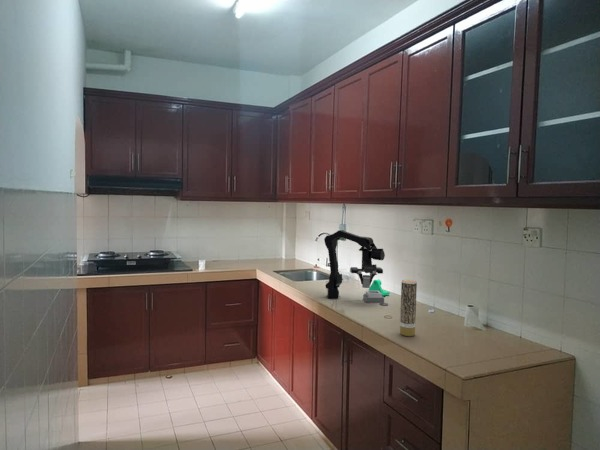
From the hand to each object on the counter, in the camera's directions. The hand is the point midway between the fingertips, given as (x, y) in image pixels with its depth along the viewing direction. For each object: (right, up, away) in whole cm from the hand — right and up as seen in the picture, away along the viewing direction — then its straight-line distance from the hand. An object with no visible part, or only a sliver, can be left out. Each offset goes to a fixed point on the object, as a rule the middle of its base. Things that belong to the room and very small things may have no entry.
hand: (366, 284), depth 241 cm
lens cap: (+10, -12, -1) cm, 16 cm away
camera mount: (+13, -11, +24) cm, 30 cm away
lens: (0, -2, 0) cm, 2 cm away
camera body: (+6, -11, +7) cm, 14 cm away
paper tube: (+11, -15, -53) cm, 57 cm away
